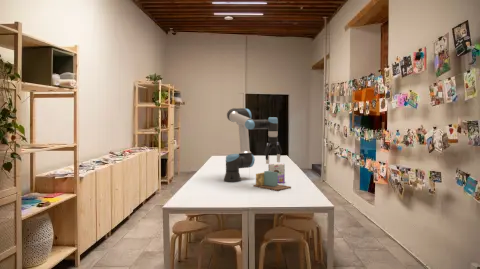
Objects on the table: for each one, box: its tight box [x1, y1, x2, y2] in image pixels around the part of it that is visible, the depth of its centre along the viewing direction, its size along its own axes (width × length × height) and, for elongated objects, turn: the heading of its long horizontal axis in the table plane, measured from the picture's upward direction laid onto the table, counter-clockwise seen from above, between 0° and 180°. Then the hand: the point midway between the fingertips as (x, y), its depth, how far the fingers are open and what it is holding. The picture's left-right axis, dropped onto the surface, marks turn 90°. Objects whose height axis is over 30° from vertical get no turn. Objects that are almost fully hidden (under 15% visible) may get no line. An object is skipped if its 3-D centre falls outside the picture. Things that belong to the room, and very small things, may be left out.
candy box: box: [267, 163, 286, 184], centre depth 309 cm, size 14×6×16 cm, turn 84°
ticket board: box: [253, 171, 292, 192], centre depth 290 cm, size 26×16×10 cm, turn 45°
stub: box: [263, 170, 279, 187], centre depth 291 cm, size 10×5×11 cm, turn 45°
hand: (273, 163), depth 288 cm, fingers open, 13 cm apart
